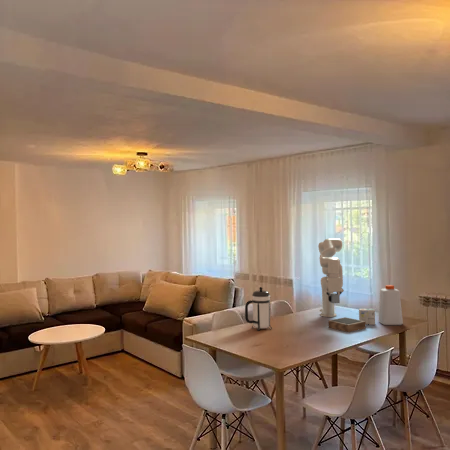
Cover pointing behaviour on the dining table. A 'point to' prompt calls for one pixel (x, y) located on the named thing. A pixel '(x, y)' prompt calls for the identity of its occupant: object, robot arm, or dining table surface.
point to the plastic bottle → (390, 306)
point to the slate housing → (335, 298)
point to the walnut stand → (347, 324)
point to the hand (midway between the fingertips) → (334, 300)
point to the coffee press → (260, 309)
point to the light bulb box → (367, 316)
